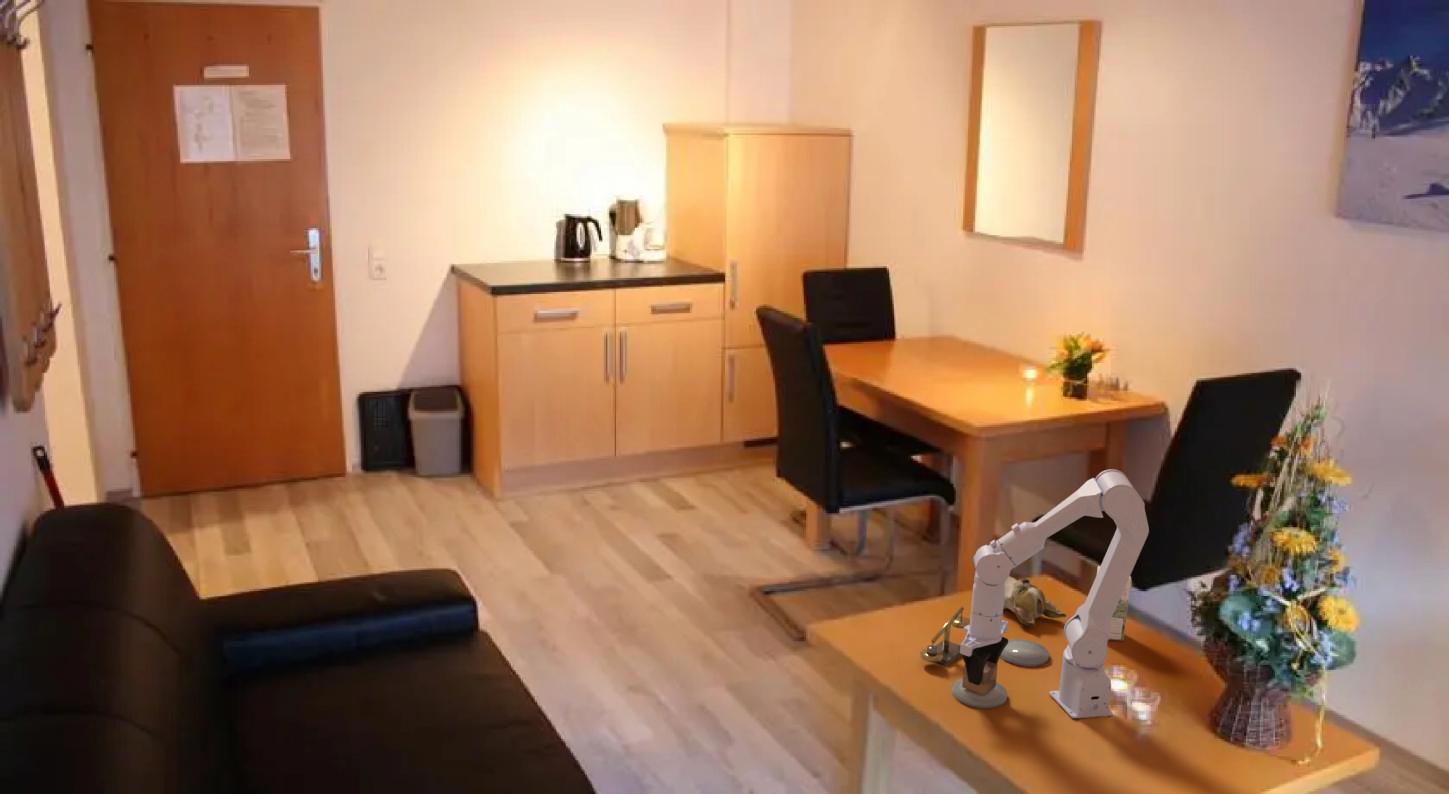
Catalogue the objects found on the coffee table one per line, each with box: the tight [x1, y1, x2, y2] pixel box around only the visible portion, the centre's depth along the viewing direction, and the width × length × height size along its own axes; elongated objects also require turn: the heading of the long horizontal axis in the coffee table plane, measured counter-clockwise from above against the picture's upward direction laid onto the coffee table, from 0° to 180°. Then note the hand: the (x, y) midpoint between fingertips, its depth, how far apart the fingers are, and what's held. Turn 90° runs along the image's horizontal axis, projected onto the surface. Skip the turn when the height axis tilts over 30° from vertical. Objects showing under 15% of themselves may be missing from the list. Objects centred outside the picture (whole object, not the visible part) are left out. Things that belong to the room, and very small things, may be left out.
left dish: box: [951, 677, 1008, 709], centre depth 221 cm, size 10×10×1 cm
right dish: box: [1000, 638, 1050, 667], centre depth 238 cm, size 10×10×1 cm
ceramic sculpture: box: [1003, 575, 1067, 627], centre depth 255 cm, size 11×9×15 cm
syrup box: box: [1096, 565, 1132, 642], centre depth 246 cm, size 6×6×14 cm
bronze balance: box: [919, 606, 970, 666], centre depth 236 cm, size 16×5×8 cm, turn 141°
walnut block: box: [962, 661, 998, 695], centre depth 221 cm, size 4×4×4 cm
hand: (980, 678), depth 221 cm, fingers closed on walnut block, 4 cm apart
